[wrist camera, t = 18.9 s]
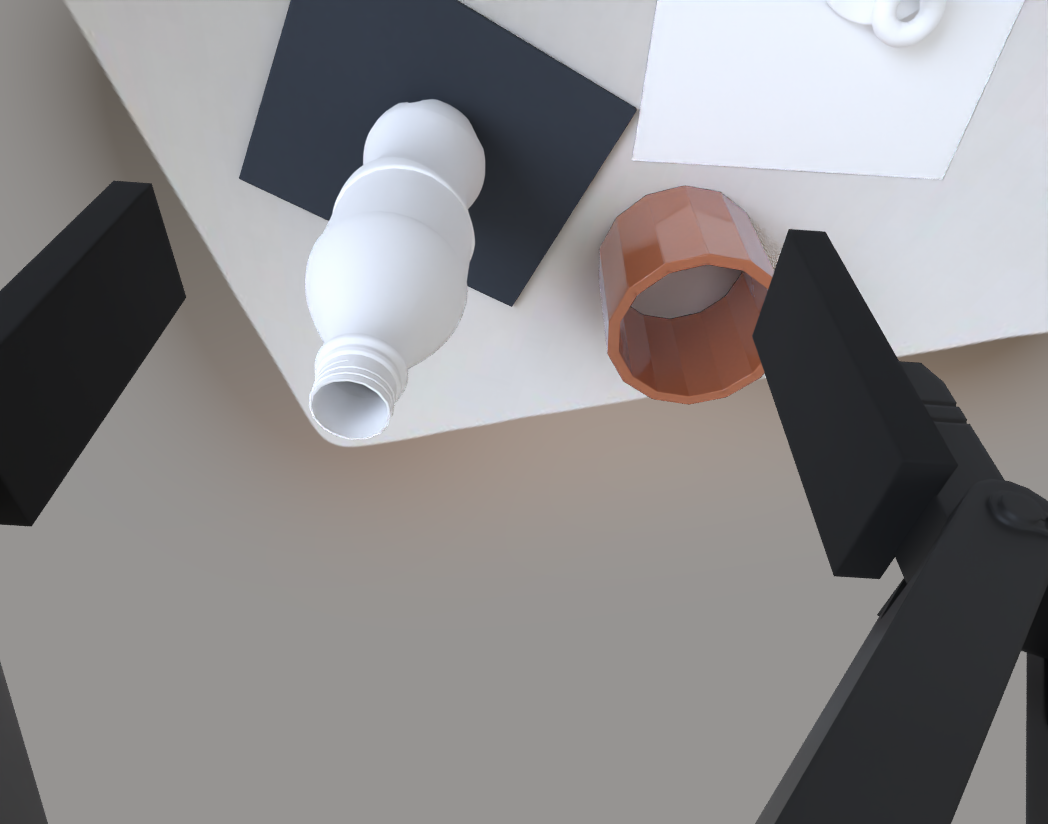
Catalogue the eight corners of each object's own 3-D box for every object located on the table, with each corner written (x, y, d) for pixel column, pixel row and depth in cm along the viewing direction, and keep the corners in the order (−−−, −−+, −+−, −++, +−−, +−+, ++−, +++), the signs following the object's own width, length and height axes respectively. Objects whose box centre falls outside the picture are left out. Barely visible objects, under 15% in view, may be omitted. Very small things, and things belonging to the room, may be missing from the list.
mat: (240, 176, 47) (238, 178, 46) (317, -85, 37) (315, -84, 37) (512, 304, 53) (511, 307, 52) (636, 107, 43) (637, 110, 43)
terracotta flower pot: (566, 254, 50) (570, 328, 43) (702, 151, 45) (731, 217, 38) (654, 349, 55) (670, 429, 48) (785, 267, 50) (823, 342, 44)
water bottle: (355, 167, 46) (226, 436, 27) (399, 62, 41) (281, 294, 23) (457, 219, 48) (403, 501, 29) (508, 124, 44) (483, 382, 25)
